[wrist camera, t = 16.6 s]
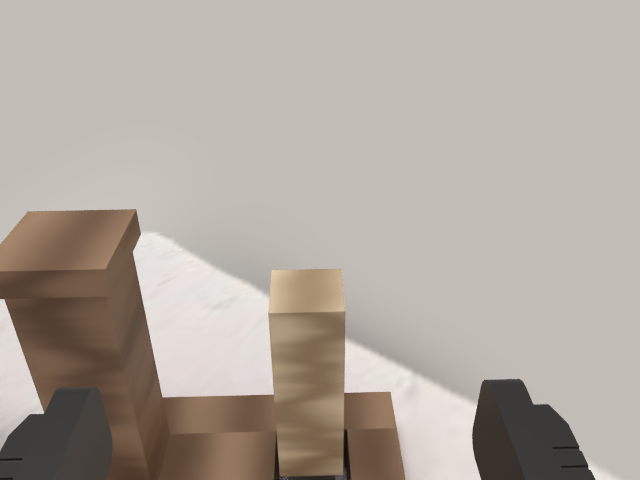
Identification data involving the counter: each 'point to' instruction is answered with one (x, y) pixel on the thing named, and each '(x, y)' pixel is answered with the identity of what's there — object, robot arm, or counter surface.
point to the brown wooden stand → (148, 361)
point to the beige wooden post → (308, 371)
